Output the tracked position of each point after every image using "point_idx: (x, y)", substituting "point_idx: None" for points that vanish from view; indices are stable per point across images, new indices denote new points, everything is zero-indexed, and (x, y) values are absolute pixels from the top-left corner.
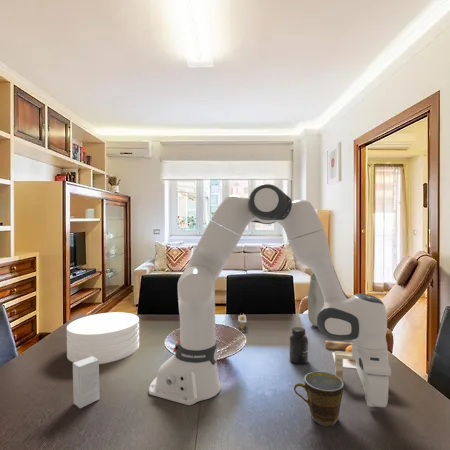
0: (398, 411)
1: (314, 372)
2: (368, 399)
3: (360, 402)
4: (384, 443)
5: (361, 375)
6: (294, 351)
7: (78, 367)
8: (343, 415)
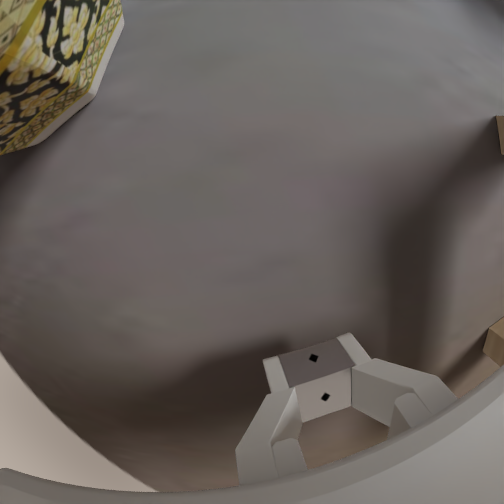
0: (326, 432)
1: None
2: (265, 406)
3: (362, 270)
4: (34, 386)
5: (490, 487)
6: None
7: None
8: (115, 165)
